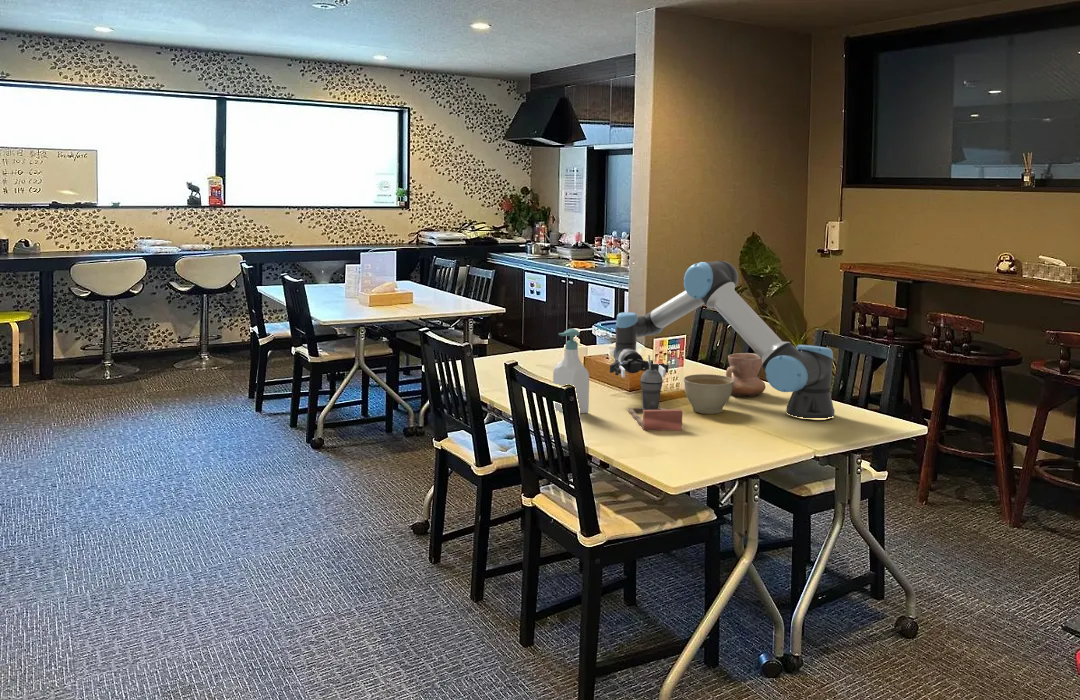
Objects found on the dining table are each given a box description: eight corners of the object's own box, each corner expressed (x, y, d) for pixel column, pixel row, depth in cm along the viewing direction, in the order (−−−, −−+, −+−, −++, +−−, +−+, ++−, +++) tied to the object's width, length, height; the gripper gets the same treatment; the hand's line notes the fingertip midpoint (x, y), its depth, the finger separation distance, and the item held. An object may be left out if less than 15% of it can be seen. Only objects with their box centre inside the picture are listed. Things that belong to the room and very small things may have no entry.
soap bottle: (548, 409, 302) (549, 327, 297) (568, 406, 306) (569, 325, 302) (568, 416, 293) (569, 332, 288) (588, 413, 298) (590, 330, 293)
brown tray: (628, 411, 300) (628, 394, 299) (663, 411, 301) (664, 393, 300) (643, 430, 277) (644, 411, 276) (681, 430, 278) (682, 410, 277)
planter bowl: (679, 404, 311) (681, 373, 309) (727, 405, 310) (729, 374, 308) (685, 416, 295) (686, 383, 293) (735, 417, 294) (737, 384, 293)
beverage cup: (655, 420, 289) (658, 358, 286) (635, 417, 293) (637, 356, 290) (665, 415, 295) (667, 355, 292) (644, 412, 299) (646, 352, 296)
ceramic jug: (745, 387, 338) (746, 350, 336) (776, 394, 327) (777, 355, 324) (710, 394, 328) (711, 355, 326) (740, 402, 317) (742, 361, 314)
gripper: (665, 371, 325) (680, 384, 304) (595, 371, 322) (606, 384, 301) (665, 350, 323) (681, 362, 303) (596, 350, 321) (607, 362, 300)
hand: (644, 373), depth 302 cm, fingers open, 13 cm apart
